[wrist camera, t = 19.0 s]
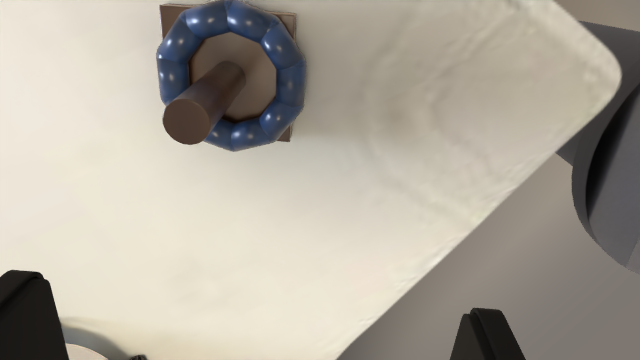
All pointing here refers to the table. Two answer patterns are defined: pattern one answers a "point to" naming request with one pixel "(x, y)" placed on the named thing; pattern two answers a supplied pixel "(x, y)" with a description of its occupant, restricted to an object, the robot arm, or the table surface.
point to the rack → (222, 81)
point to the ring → (252, 26)
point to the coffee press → (87, 353)
